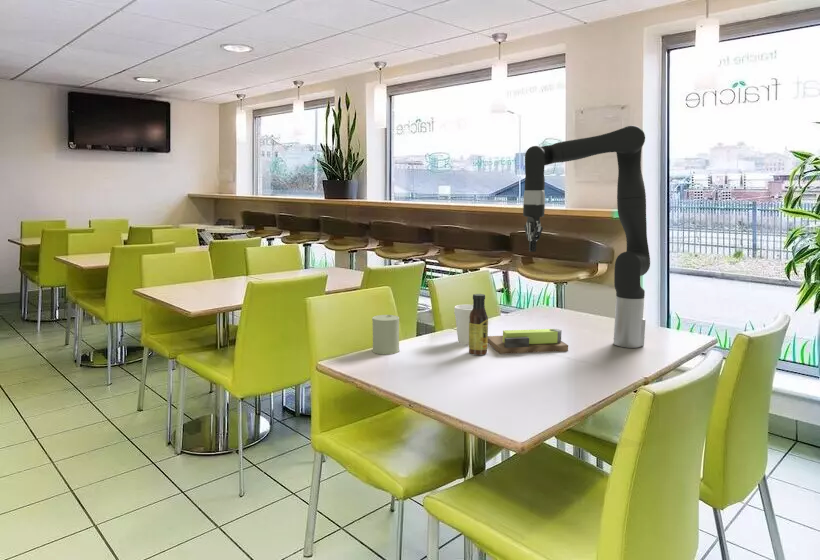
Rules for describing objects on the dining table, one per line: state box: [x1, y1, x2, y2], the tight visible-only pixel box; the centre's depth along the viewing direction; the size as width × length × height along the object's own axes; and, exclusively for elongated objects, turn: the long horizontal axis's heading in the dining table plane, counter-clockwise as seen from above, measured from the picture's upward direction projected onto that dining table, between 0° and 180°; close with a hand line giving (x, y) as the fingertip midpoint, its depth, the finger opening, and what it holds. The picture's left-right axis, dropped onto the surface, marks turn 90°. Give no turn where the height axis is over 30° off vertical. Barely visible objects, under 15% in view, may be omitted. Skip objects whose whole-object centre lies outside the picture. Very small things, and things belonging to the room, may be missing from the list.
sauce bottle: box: [468, 293, 489, 356], centre depth 189 cm, size 7×6×20 cm
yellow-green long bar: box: [502, 328, 562, 344], centre depth 195 cm, size 20×4×4 cm, turn 97°
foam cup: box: [453, 304, 473, 346], centre depth 203 cm, size 10×9×13 cm
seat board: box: [488, 335, 569, 355], centre depth 199 cm, size 24×16×5 cm, turn 99°
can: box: [371, 314, 400, 355], centre depth 193 cm, size 9×9×12 cm
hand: (532, 251), depth 207 cm, fingers closed
